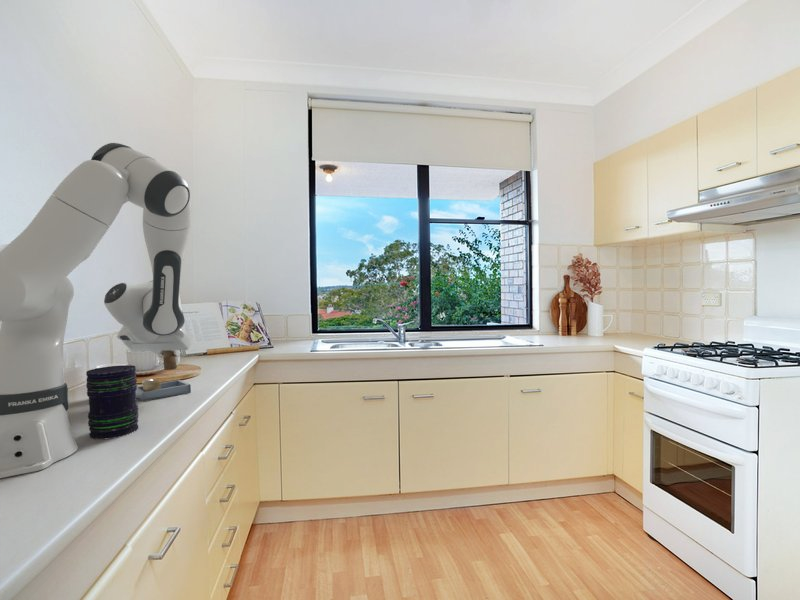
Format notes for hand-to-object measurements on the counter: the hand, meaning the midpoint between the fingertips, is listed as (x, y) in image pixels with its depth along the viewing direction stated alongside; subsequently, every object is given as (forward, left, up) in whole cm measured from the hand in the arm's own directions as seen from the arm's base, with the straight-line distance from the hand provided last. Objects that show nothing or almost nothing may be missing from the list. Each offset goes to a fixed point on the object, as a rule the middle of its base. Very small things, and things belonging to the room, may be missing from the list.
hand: (170, 355), depth 139 cm
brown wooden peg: (0, 0, -4) cm, 4 cm away
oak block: (-6, -2, -11) cm, 13 cm away
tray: (-3, 0, -12) cm, 12 cm away
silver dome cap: (-6, +2, -11) cm, 13 cm away
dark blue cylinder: (-22, -32, -12) cm, 40 cm away
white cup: (-15, +8, -12) cm, 21 cm away
